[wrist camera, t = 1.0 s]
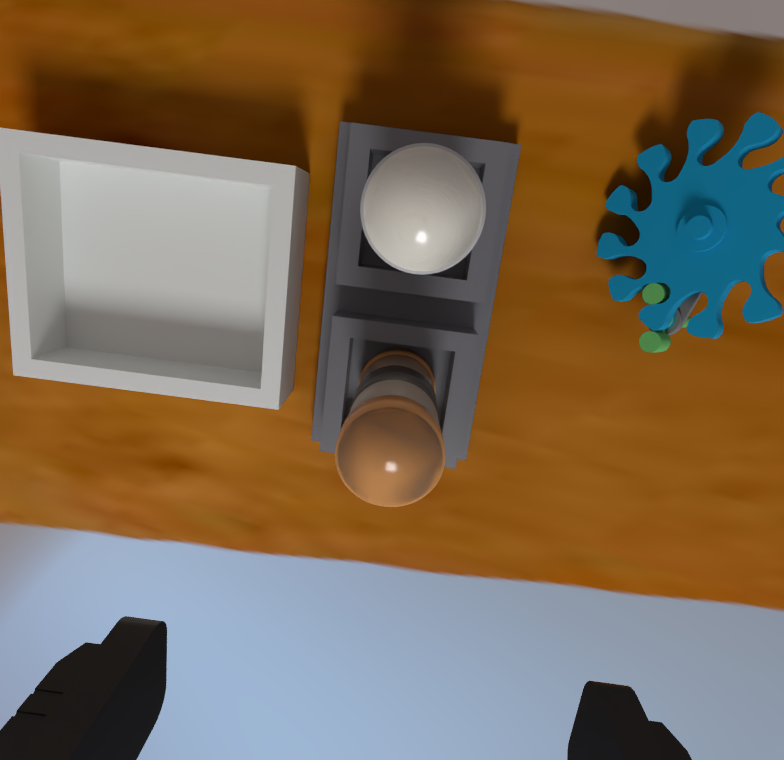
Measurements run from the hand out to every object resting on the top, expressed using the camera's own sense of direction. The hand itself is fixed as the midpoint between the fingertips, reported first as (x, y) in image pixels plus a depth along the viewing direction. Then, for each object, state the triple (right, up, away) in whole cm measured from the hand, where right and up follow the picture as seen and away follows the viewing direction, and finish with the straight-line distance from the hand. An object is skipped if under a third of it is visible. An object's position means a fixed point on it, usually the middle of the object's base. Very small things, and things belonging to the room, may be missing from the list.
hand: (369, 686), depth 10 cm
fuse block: (+1, +10, +20) cm, 22 cm away
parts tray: (-12, +12, +20) cm, 26 cm away
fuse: (+2, +14, +17) cm, 23 cm away
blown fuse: (+1, +6, +20) cm, 21 cm away
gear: (+15, +13, +19) cm, 27 cm away
